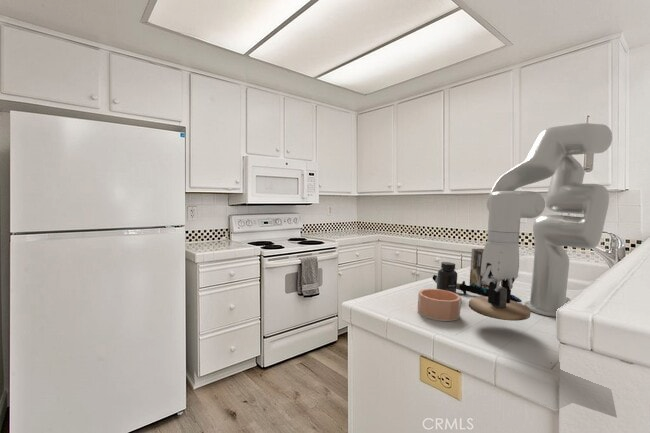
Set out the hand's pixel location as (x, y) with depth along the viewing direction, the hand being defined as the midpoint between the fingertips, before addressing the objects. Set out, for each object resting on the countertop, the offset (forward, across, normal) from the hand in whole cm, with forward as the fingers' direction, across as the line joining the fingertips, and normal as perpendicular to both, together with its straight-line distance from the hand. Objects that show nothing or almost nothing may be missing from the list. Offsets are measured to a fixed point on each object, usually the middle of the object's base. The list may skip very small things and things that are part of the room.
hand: (498, 302), depth 90 cm
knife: (+9, -20, -24) cm, 32 cm away
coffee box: (+9, -28, -27) cm, 40 cm away
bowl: (+8, +7, -15) cm, 18 cm away
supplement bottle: (+8, -10, -28) cm, 31 cm away
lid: (+2, 0, 0) cm, 2 cm away
